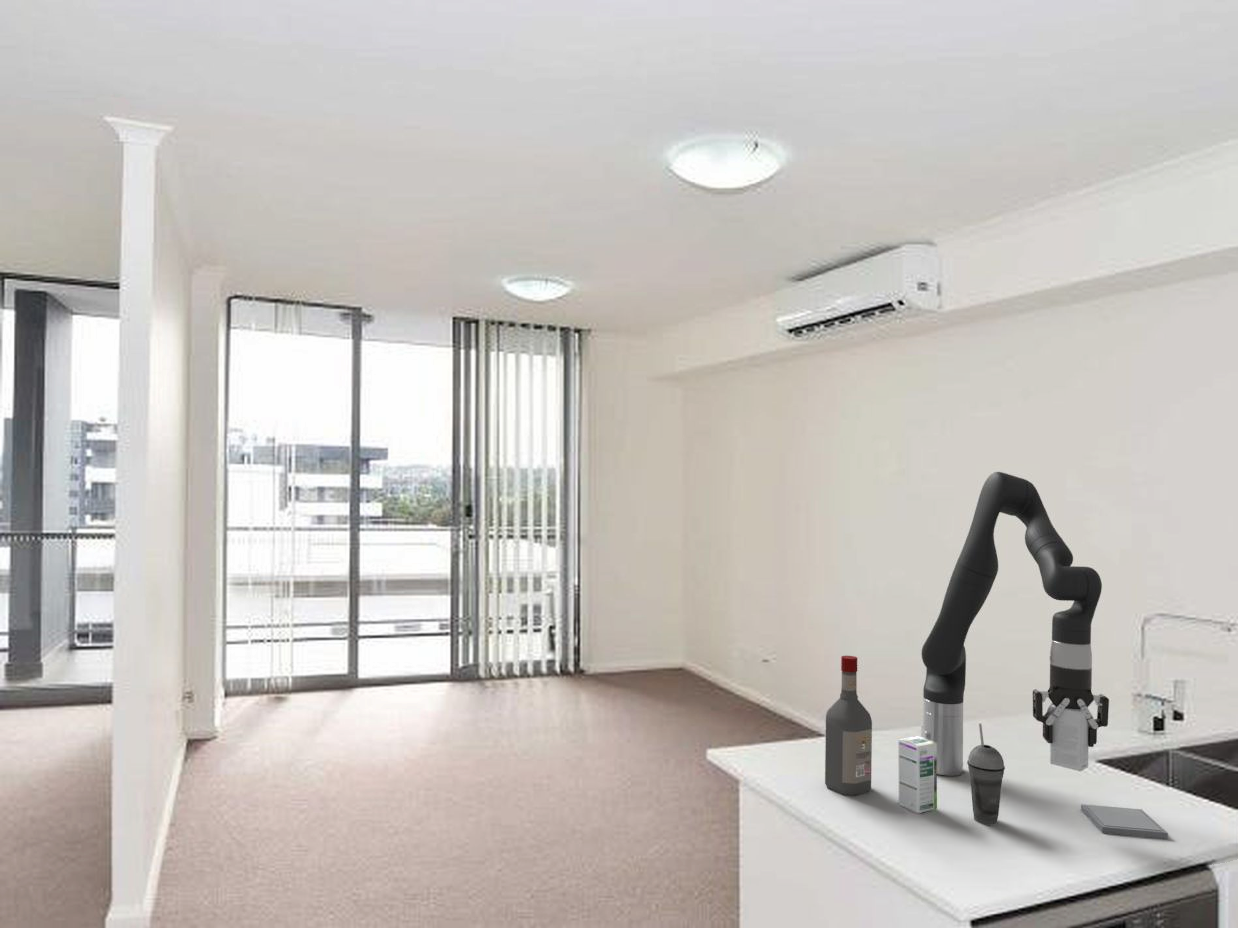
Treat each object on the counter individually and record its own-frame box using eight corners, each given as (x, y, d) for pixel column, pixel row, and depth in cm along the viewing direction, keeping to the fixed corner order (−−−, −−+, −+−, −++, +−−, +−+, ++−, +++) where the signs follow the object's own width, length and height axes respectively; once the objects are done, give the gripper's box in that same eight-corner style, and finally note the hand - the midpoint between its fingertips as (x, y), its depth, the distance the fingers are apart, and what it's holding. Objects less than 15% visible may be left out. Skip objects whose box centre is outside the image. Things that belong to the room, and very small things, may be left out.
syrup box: (918, 814, 174) (919, 745, 174) (897, 804, 179) (898, 737, 179) (937, 809, 176) (938, 742, 177) (916, 799, 182) (916, 734, 182)
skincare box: (1088, 767, 166) (1089, 708, 167) (1081, 772, 164) (1082, 712, 164) (1057, 759, 171) (1058, 702, 171) (1049, 763, 168) (1050, 705, 168)
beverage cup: (1002, 830, 166) (1002, 731, 166) (963, 822, 170) (964, 725, 170) (1006, 818, 172) (1007, 723, 173) (969, 810, 176) (970, 717, 177)
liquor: (877, 790, 187) (878, 659, 187) (848, 798, 182) (850, 663, 182) (846, 777, 194) (848, 651, 195) (819, 784, 190) (820, 655, 190)
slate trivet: (1102, 832, 166) (1102, 826, 166) (1080, 809, 178) (1080, 803, 178) (1167, 838, 164) (1167, 832, 164) (1141, 814, 175) (1141, 808, 175)
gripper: (1038, 665, 165) (1037, 746, 165) (1116, 670, 163) (1115, 753, 162) (1027, 657, 173) (1026, 735, 173) (1102, 661, 170) (1100, 741, 170)
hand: (1069, 743), depth 167 cm, fingers closed on skincare box, 7 cm apart
